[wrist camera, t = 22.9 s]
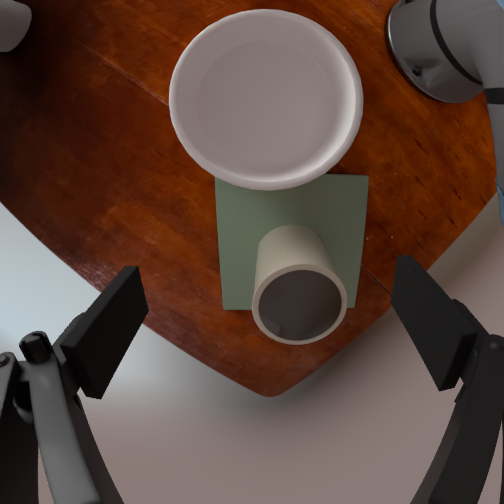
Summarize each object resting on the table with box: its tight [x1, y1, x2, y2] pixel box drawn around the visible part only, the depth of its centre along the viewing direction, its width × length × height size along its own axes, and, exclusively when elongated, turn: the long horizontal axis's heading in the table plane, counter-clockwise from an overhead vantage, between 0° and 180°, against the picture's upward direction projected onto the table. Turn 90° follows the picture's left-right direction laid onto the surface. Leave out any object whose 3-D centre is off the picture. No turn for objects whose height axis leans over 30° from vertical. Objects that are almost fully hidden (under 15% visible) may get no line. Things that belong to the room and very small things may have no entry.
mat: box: [215, 174, 369, 310], centre depth 38 cm, size 18×18×1 cm
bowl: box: [169, 9, 363, 191], centre depth 28 cm, size 17×17×8 cm
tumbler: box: [252, 224, 348, 345], centre depth 33 cm, size 11×9×9 cm
